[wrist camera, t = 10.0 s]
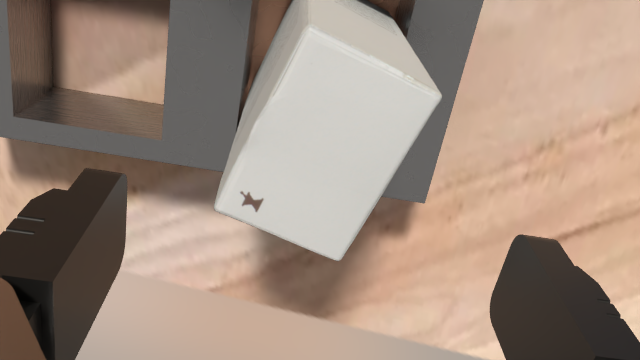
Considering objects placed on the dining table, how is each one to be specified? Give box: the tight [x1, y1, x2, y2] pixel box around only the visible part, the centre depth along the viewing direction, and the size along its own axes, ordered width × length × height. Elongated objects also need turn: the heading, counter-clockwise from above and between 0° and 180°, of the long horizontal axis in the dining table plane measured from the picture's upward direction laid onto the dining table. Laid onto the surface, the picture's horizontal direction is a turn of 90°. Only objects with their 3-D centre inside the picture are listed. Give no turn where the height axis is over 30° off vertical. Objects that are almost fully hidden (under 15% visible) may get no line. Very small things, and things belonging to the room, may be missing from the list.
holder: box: [0, 0, 484, 203], centre depth 25 cm, size 20×10×4 cm, turn 80°
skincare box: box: [214, 0, 442, 261], centre depth 21 cm, size 6×4×12 cm
